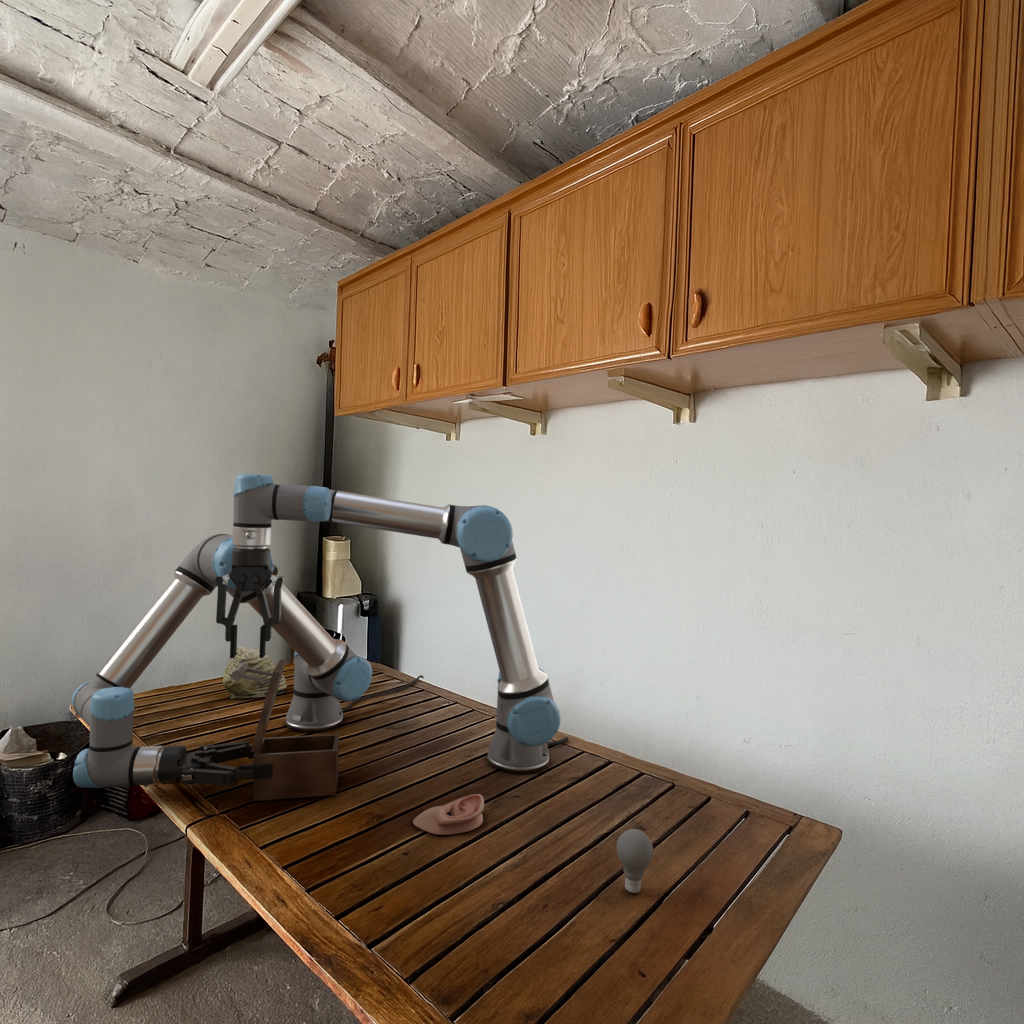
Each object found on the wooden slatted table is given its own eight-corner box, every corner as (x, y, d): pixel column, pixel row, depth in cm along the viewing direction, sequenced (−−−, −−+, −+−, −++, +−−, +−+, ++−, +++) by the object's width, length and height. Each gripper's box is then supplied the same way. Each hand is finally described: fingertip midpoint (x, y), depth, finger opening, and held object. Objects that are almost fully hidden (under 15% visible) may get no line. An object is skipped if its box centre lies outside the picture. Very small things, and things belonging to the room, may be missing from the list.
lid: (285, 660, 140) (243, 651, 139) (279, 672, 131) (233, 663, 129) (264, 735, 140) (221, 727, 138) (256, 752, 131) (210, 744, 129)
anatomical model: (407, 809, 121) (427, 784, 133) (406, 830, 121) (426, 802, 133) (474, 819, 119) (489, 792, 130) (473, 840, 119) (488, 811, 130)
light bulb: (610, 879, 108) (613, 822, 108) (644, 879, 109) (647, 822, 109) (619, 902, 102) (622, 840, 102) (655, 901, 103) (658, 840, 103)
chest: (338, 775, 144) (339, 733, 143) (335, 794, 134) (336, 750, 134) (261, 780, 140) (261, 737, 140) (253, 801, 131) (253, 755, 130)
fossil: (218, 695, 195) (220, 647, 195) (278, 685, 208) (279, 640, 207) (228, 703, 189) (230, 653, 188) (289, 692, 201) (290, 645, 201)
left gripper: (178, 761, 142) (282, 756, 147) (142, 809, 120) (266, 802, 125) (179, 727, 142) (284, 724, 147) (143, 770, 120) (268, 764, 125)
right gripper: (200, 547, 128) (196, 661, 129) (294, 549, 132) (290, 660, 133) (209, 544, 136) (206, 652, 136) (298, 546, 139) (294, 651, 140)
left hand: (276, 760), depth 136 cm, fingers closed on chest, 10 cm apart
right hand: (247, 656), depth 134 cm, fingers open, 5 cm apart
